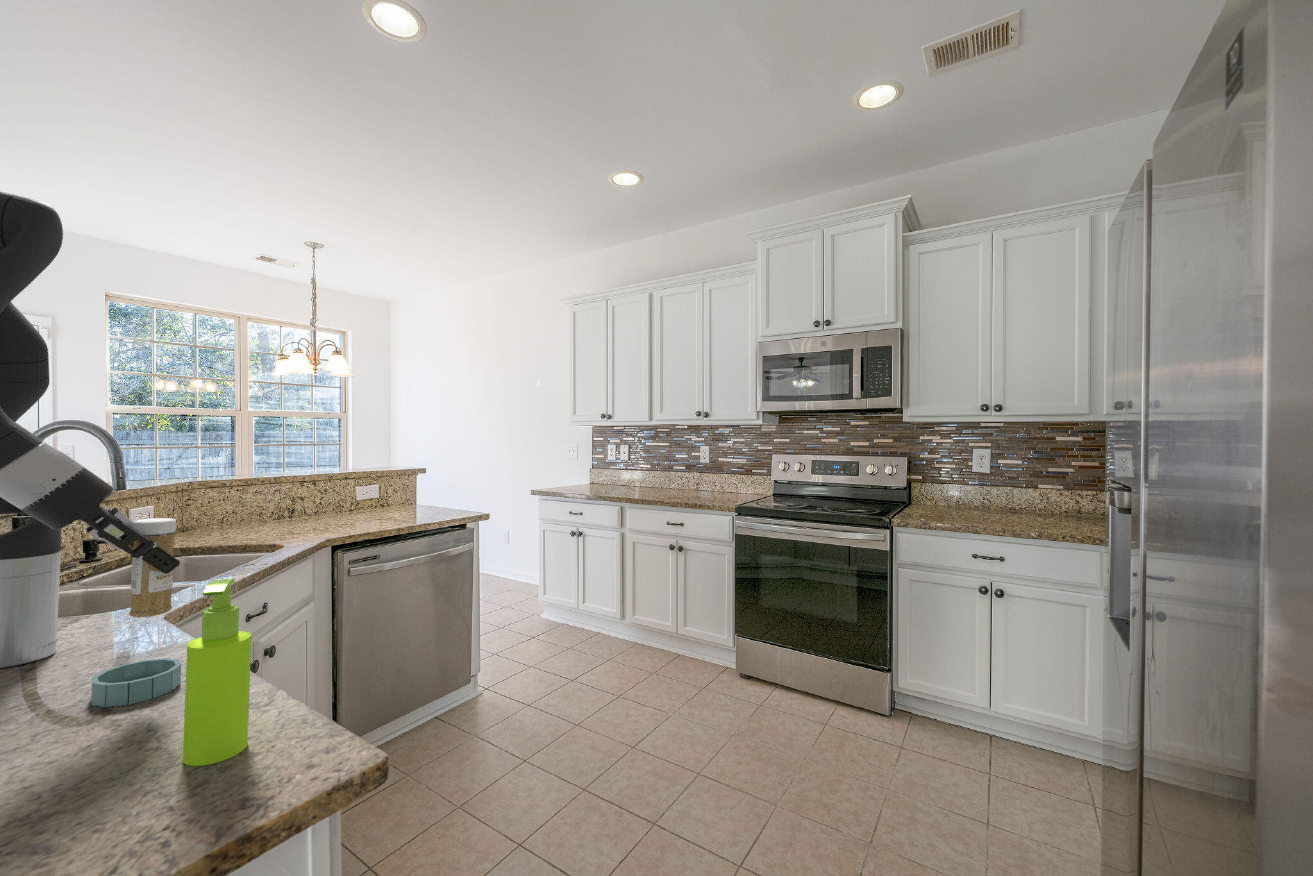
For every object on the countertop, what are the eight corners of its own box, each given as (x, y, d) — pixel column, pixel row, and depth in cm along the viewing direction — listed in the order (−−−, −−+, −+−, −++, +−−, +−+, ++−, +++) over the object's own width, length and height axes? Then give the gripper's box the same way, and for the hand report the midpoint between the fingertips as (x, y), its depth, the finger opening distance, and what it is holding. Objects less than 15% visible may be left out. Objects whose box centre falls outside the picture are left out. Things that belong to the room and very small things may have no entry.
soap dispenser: (171, 776, 58) (178, 590, 58) (191, 745, 64) (197, 577, 64) (239, 763, 61) (245, 585, 61) (252, 734, 67) (257, 572, 67)
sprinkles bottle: (168, 615, 76) (173, 520, 76) (124, 620, 74) (128, 522, 74) (174, 606, 80) (178, 516, 80) (132, 611, 77) (137, 518, 78)
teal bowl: (73, 710, 72) (74, 688, 72) (117, 682, 81) (118, 662, 81) (158, 701, 75) (159, 680, 75) (192, 675, 83) (192, 655, 83)
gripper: (83, 468, 67) (205, 552, 76) (79, 462, 76) (187, 538, 85) (15, 513, 63) (152, 597, 72) (19, 502, 72) (140, 577, 81)
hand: (170, 565), depth 78 cm, fingers closed on sprinkles bottle, 4 cm apart
